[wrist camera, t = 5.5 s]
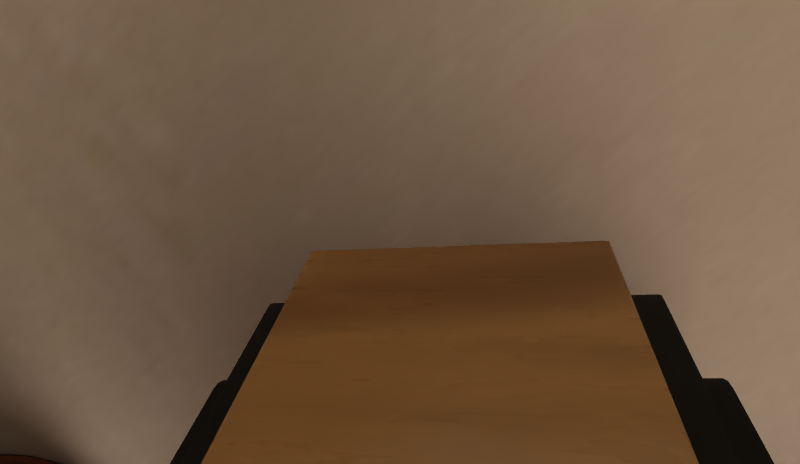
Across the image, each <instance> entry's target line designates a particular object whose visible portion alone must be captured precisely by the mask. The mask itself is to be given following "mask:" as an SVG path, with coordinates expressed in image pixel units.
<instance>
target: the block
mask: <svg viewBox="0 0 800 464" xmlns="http://www.w3.org/2000/svg"><path fill="white" fill-rule="evenodd" d="M201 464H699V463H698V460H697V458H696V455H695V453H694V450H693V448H692V445H691V443H690V440H689V438H688V435H687V433H686V431H685V428H684V426H683V423H682V421H681V418H680V416H679V413H678V411H677V408H676V406H675V403H674V401H673V398H672V396H671V393H670V391H669V389H668V386H667V384H666V381H665V379H664V376H663V374H662V371H661V369H660V366H659V364H658V361H657V359H656V356H655V354H654V352H653V349H652V347H651V344H650V342H649V339H648V337H647V334H646V332H645V329H644V327H643V324H642V322H641V319H640V317H639V314H638V312H637V310H636V307H635V305H634V302H633V300H632V297H631V295H630V292H629V290H628V287H627V285H626V282H625V280H624V277H623V275H622V272H621V270H620V268H619V265H618V263H617V260H616V258H615V255H614V253H613V250H612V248H611V245H610V243H609V241H584V242H556V243H528V244H499V245H471V246H443V247H414V248H386V249H358V250H329V251H313V252H312V253H311V254H310V256H309V258H308V260H307V262H306V264H305V266H304V268H303V270H302V272H301V274H300V275H299V277H298V279H297V281H296V283H295V285H294V287H293V289H292V291H291V293H290V295H289V296H288V298H287V300H286V302H285V304H284V306H283V308H282V310H281V312H280V314H279V316H278V317H277V319H276V321H275V323H274V325H273V327H272V329H271V331H270V333H269V335H268V337H267V338H266V340H265V342H264V344H263V346H262V348H261V350H260V352H259V354H258V356H257V358H256V360H255V361H254V363H253V365H252V367H251V369H250V371H249V373H248V375H247V377H246V379H245V381H244V382H243V384H242V386H241V388H240V390H239V392H238V394H237V396H236V398H235V400H234V402H233V403H232V405H231V407H230V409H229V411H228V413H227V415H226V417H225V419H224V421H223V423H222V424H221V426H220V428H219V430H218V432H217V434H216V436H215V438H214V440H213V442H212V444H211V445H210V447H209V449H208V451H207V453H206V455H205V457H204V459H203V461H202V463H201Z"/></svg>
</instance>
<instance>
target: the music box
mask: <svg viewBox="0 0 800 464" xmlns="http://www.w3.org/2000/svg"><path fill="white" fill-rule="evenodd" d="M0 464H55V463H52V462H49V461H45V460H41V459H37V458H32V457H25V456H13V455H3V456H0Z"/></svg>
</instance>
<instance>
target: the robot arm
mask: <svg viewBox="0 0 800 464" xmlns="http://www.w3.org/2000/svg"><path fill="white" fill-rule="evenodd" d="M631 297H632V300H633V302H634V305H635V307H636V310H637V312H638V314H639V317H640V319H641V322H642V324H643V327H644V329H645V332H646V334H647V337H648V339H649V342H650V344H651V347H652V349H653V352H654V354H655V356H656V359H657V361H658V364H659V366H660V369H661V371H662V374H663V376H664V379H665V381H666V384H667V386H668V389H669V391H670V393H671V396H672V398H673V401H674V403H675V406H676V408H677V411H678V413H679V416H680V418H681V421H682V423H683V426H684V428H685V431H686V433H687V435H688V438H689V440H690V443H691V445H692V448H693V450H694V453H695V455H696V458H697V460H698V463H699V464H774V463H773V461H772V459H771V457H770V455H769V453H768V451H767V450H766V448H765V446H764V444H763V442H762V440H761V439H760V437H759V435H758V433H757V431H756V429H755V428H754V426H753V424H752V422H751V420H750V418H749V417H748V415H747V413H746V411H745V409H744V407H743V406H742V404H741V402H740V400H739V398H738V396H737V394H736V393H735V391H734V389H733V387H732V386H731V385H730V383H729V382H728V381H727V380H725V379H723V378H702V377H701V375H700V373H699V371H698V368H697V366H696V364H695V362H694V360H693V358H692V356H691V354H690V352H689V350H688V348H687V346H686V344H685V342H684V340H683V338H682V336H681V334H680V332H679V330H678V327H677V325H676V323H675V321H674V319H673V317H672V315H671V313H670V311H669V309H668V307H667V305H666V303H665V301H664V299H663V297H662V296H661V295H631ZM284 304H285V303H273V304H270V305H269V307H268V308H267V310H266V312H265V314H264V315H263V317H262V319H261V321H260V322H259V324H258V326H257V328H256V330H255V331H254V333H253V335H252V337H251V338H250V340H249V342H248V344H247V345H246V347H245V349H244V351H243V353H242V354H241V356H240V358H239V360H238V361H237V363H236V365H235V367H234V369H233V370H232V372H231V374H230V376H229V377H228V379H227V380H223V381H221V382H219V383H218V384H217V385H216V387H215V388H214V389H213V391H212V392H211V394H210V396H209V398H208V399H207V401H206V403H205V404H204V406H203V408H202V410H201V411H200V413H199V415H198V417H197V418H196V420H195V422H194V423H193V425H192V427H191V429H190V430H189V432H188V434H187V435H186V437H185V439H184V441H183V442H182V444H181V446H180V448H179V449H178V451H177V453H176V454H175V456H174V458H173V460H172V461H171V463H170V464H201V463H202V461H203V459H204V457H205V455H206V453H207V451H208V449H209V447H210V445H211V444H212V442H213V440H214V438H215V436H216V434H217V432H218V430H219V428H220V426H221V424H222V423H223V421H224V419H225V417H226V415H227V413H228V411H229V409H230V407H231V405H232V403H233V402H234V400H235V398H236V396H237V394H238V392H239V390H240V388H241V386H242V384H243V382H244V381H245V379H246V377H247V375H248V373H249V371H250V369H251V367H252V365H253V363H254V361H255V360H256V358H257V356H258V354H259V352H260V350H261V348H262V346H263V344H264V342H265V340H266V338H267V337H268V335H269V333H270V331H271V329H272V327H273V325H274V323H275V321H276V319H277V317H278V316H279V314H280V312H281V310H282V308H283V306H284Z"/></svg>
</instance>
